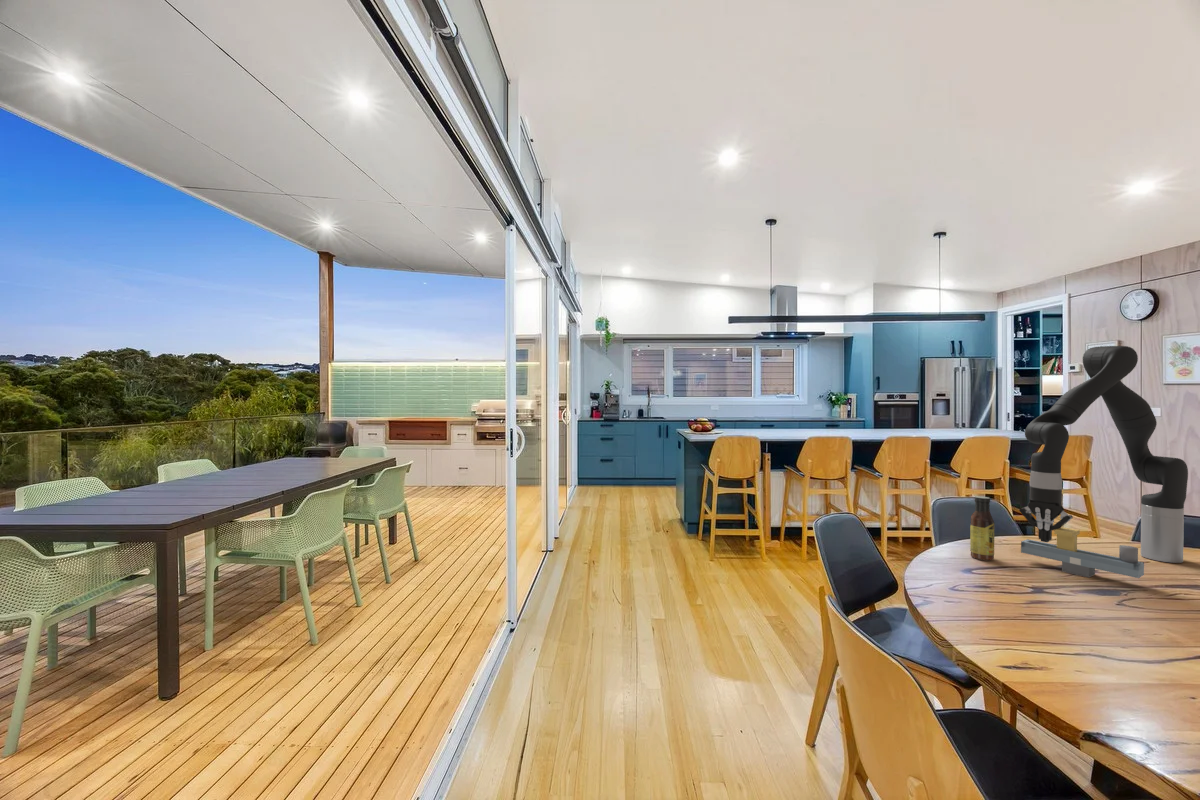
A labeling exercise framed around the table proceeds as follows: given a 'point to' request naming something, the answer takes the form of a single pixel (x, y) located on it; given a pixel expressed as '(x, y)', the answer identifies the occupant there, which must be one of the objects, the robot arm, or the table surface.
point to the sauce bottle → (982, 530)
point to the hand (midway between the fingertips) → (1044, 541)
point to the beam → (1088, 559)
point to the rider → (1067, 538)
